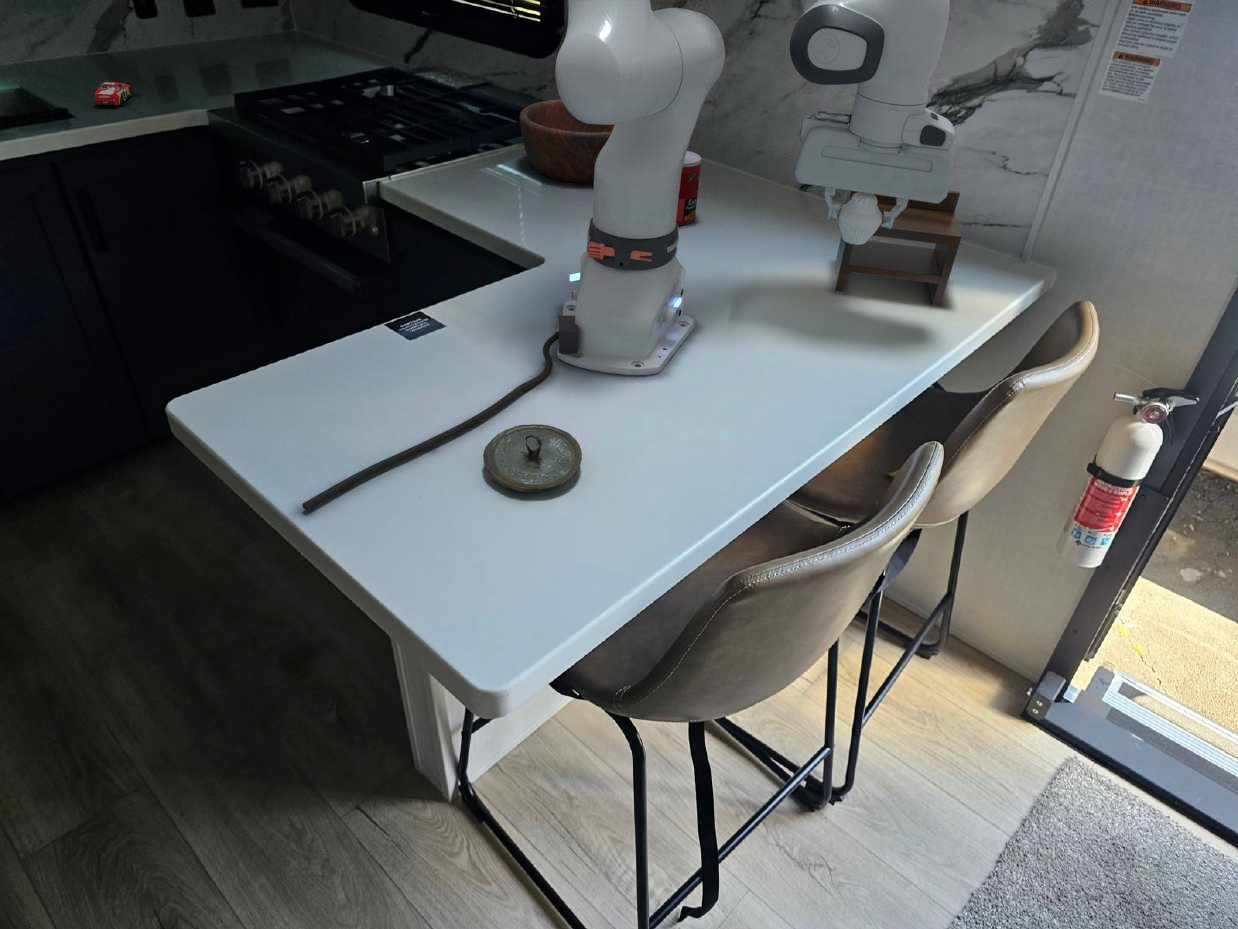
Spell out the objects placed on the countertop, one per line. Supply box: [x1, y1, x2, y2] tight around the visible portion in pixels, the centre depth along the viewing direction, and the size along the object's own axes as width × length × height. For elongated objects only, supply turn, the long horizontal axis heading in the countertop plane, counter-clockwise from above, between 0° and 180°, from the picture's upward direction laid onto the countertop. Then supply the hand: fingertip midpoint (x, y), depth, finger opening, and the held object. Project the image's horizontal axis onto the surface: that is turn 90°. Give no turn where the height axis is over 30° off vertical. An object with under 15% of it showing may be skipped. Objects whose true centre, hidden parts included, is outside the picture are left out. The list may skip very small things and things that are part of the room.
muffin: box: [837, 192, 883, 245], centre depth 118 cm, size 6×6×7 cm
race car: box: [94, 81, 133, 106], centre depth 192 cm, size 13×5×4 cm, turn 9°
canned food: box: [676, 150, 702, 226], centre depth 150 cm, size 8×8×11 cm
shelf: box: [834, 189, 963, 306], centre depth 131 cm, size 11×16×14 cm
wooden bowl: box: [519, 98, 614, 184], centre depth 170 cm, size 25×25×10 cm
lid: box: [482, 423, 583, 493], centre depth 91 cm, size 11×10×5 cm
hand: (859, 222), depth 118 cm, fingers closed on muffin, 6 cm apart
